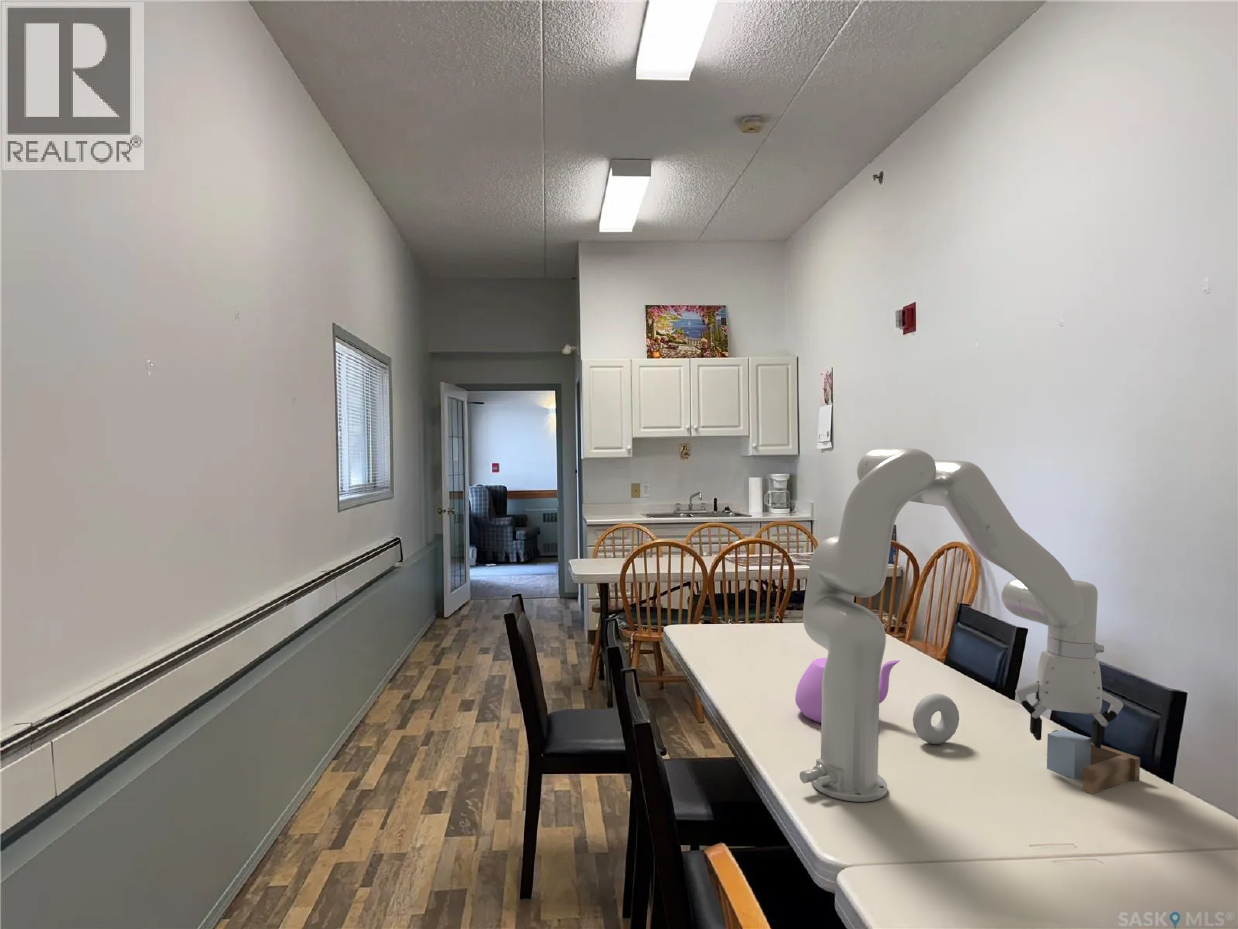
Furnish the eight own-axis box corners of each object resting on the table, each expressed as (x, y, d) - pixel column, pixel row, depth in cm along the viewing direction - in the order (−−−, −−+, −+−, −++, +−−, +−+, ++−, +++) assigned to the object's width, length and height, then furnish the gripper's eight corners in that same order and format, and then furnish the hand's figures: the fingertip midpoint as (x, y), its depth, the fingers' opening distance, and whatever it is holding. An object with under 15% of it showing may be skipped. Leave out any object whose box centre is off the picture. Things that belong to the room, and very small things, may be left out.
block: (1074, 779, 136) (1075, 743, 136) (1046, 768, 140) (1047, 733, 140) (1090, 773, 138) (1091, 738, 138) (1062, 763, 143) (1063, 729, 142)
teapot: (907, 741, 153) (908, 672, 152) (796, 731, 157) (797, 665, 157) (890, 705, 174) (892, 645, 174) (793, 697, 178) (794, 639, 178)
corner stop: (1096, 796, 129) (1097, 772, 129) (1013, 763, 142) (1014, 742, 142) (1139, 780, 136) (1140, 757, 136) (1056, 750, 149) (1056, 730, 149)
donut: (919, 749, 148) (920, 698, 148) (908, 742, 152) (909, 693, 151) (962, 744, 151) (963, 694, 151) (950, 738, 154) (951, 689, 154)
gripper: (1117, 648, 140) (1112, 741, 140) (1013, 638, 145) (1009, 728, 145) (1132, 659, 133) (1127, 756, 133) (1023, 648, 137) (1018, 742, 138)
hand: (1066, 741), depth 139 cm, fingers open, 9 cm apart
